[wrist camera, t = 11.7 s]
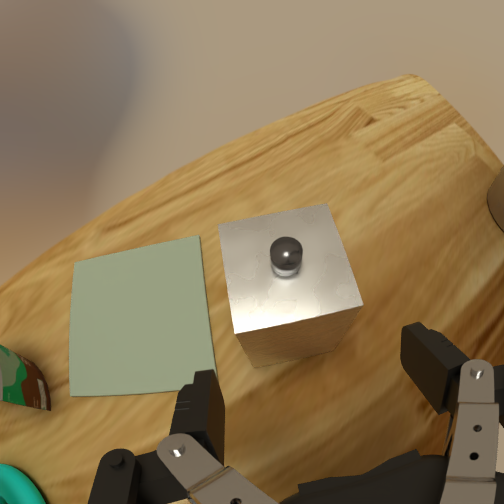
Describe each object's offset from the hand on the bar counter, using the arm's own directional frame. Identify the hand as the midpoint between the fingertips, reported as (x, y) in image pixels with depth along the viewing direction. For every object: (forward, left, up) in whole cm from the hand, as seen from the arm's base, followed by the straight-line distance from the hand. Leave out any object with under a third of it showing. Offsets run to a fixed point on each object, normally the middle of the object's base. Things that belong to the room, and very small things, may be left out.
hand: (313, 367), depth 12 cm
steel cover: (-2, -6, -12) cm, 13 cm away
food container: (+25, -11, -12) cm, 30 cm away
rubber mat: (+10, -12, -12) cm, 20 cm away
